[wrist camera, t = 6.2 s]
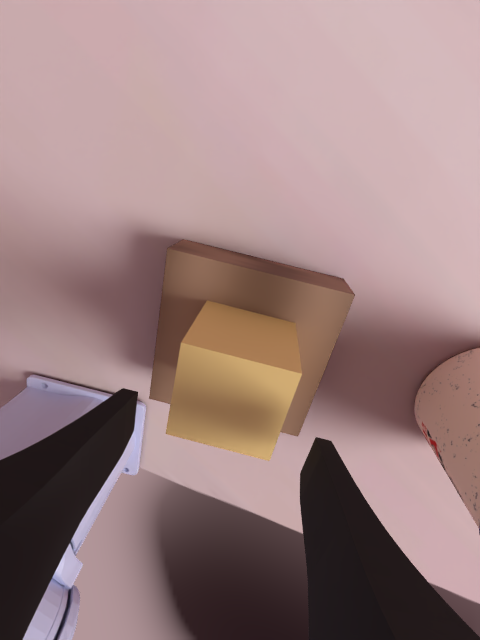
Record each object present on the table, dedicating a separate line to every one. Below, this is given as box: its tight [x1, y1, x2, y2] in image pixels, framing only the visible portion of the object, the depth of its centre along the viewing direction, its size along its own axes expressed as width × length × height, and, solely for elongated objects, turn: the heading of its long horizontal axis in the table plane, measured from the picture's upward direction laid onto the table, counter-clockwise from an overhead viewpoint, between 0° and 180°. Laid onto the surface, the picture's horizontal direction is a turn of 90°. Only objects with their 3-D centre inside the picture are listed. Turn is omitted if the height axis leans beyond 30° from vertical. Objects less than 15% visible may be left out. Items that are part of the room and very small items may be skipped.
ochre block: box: [166, 301, 302, 461], centre depth 16 cm, size 5×5×5 cm
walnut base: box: [149, 239, 355, 436], centre depth 19 cm, size 10×10×3 cm
